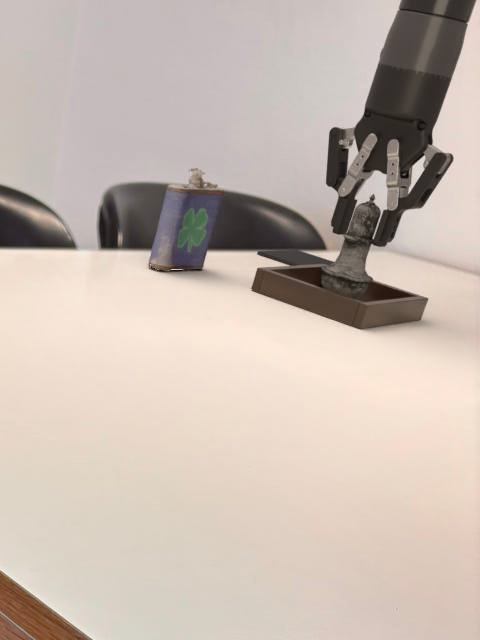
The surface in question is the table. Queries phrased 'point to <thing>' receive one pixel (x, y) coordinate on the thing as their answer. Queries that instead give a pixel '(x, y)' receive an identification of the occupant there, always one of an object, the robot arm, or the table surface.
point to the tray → (339, 297)
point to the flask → (186, 224)
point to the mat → (294, 257)
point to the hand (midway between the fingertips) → (358, 238)
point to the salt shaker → (353, 253)
